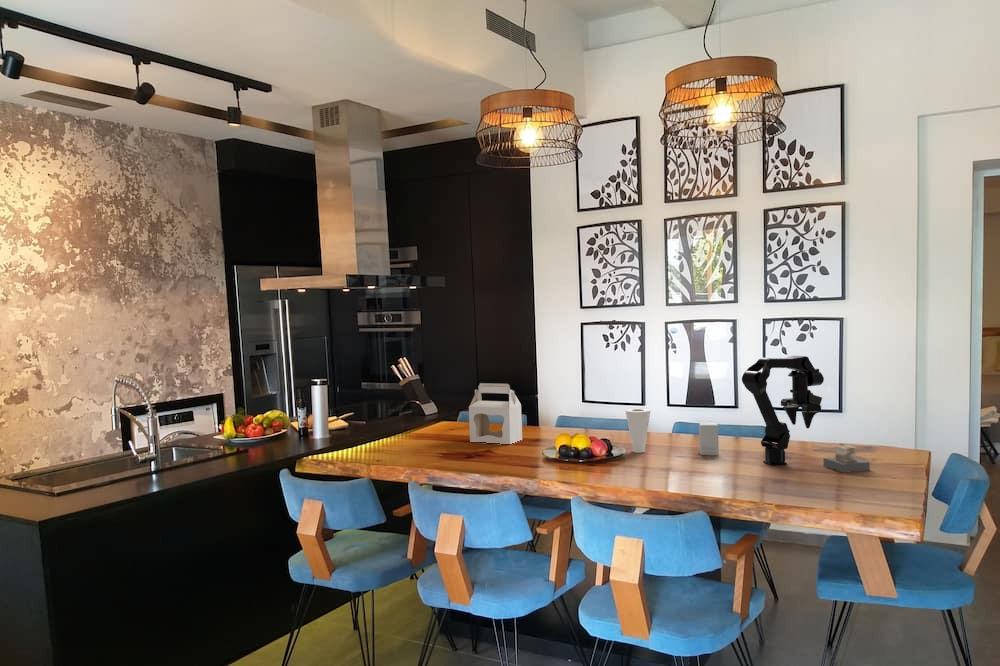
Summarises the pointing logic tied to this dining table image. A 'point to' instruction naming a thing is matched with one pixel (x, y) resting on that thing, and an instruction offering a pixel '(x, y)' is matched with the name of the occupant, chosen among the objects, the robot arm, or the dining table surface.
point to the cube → (846, 453)
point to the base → (846, 465)
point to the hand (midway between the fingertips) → (800, 426)
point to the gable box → (504, 408)
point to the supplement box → (708, 439)
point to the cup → (638, 427)
